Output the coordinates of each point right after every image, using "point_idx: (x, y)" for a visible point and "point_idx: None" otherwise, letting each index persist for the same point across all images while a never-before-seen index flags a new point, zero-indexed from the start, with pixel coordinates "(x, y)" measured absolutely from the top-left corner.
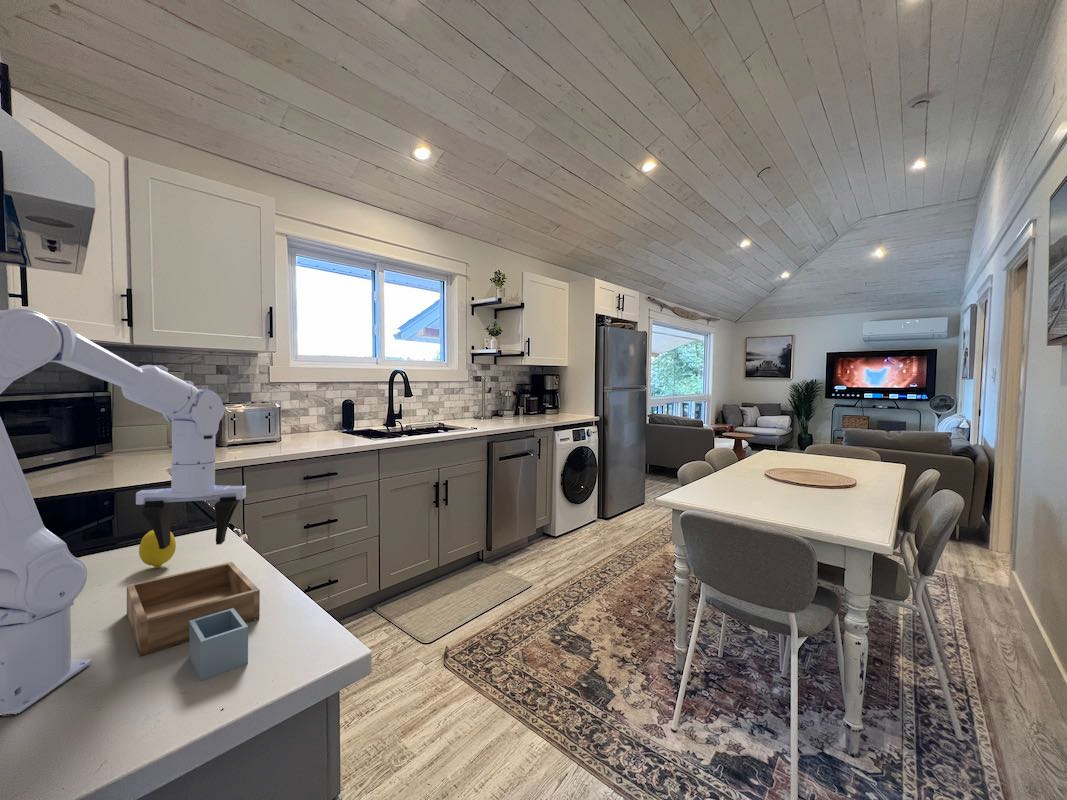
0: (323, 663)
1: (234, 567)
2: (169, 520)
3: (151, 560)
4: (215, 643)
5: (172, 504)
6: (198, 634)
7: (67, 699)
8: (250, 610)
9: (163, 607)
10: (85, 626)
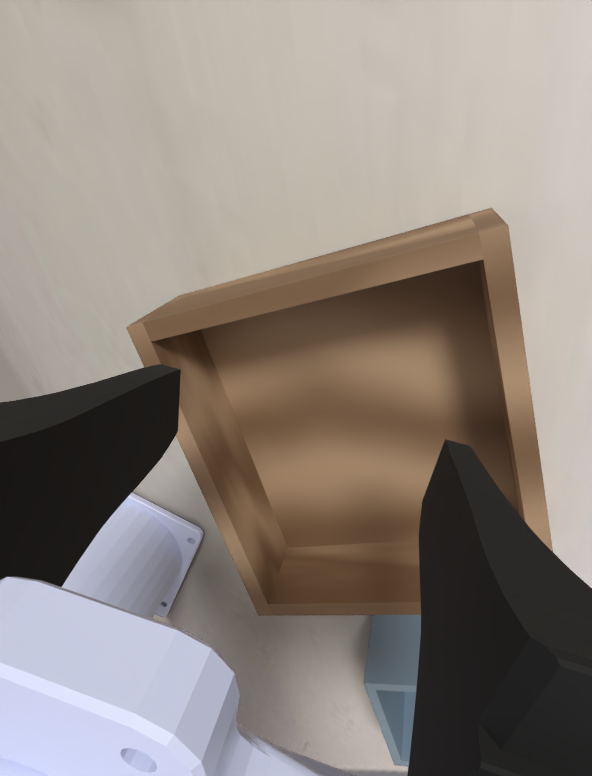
0: None
1: (509, 334)
2: (80, 431)
3: None
4: None
5: None
6: (387, 741)
7: (214, 609)
8: None
9: (272, 340)
10: (109, 329)
